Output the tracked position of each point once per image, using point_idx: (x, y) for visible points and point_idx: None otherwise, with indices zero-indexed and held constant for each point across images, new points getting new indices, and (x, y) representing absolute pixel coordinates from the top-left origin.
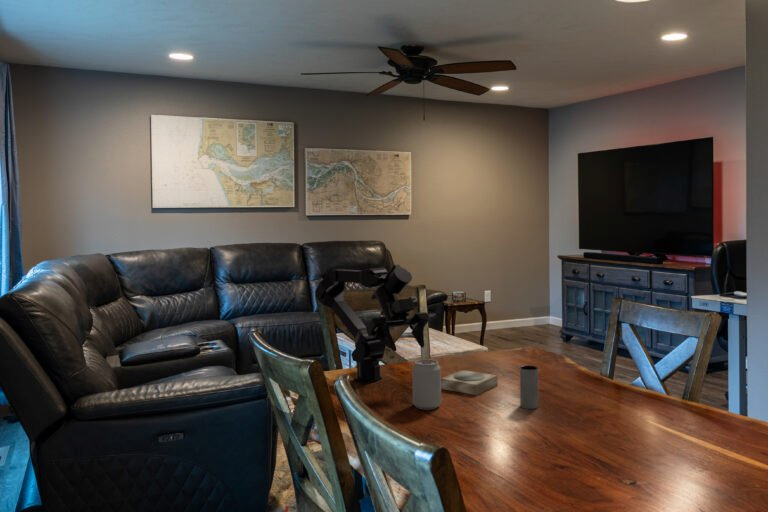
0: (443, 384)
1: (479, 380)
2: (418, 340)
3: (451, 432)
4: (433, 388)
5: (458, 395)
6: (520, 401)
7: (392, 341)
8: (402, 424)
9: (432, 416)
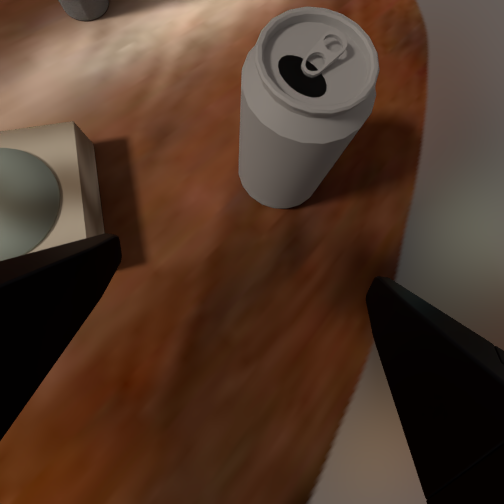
0: None
1: (16, 148)
2: (70, 314)
3: (359, 24)
4: (302, 93)
5: (132, 181)
6: (94, 2)
7: (440, 317)
8: (413, 121)
9: None
